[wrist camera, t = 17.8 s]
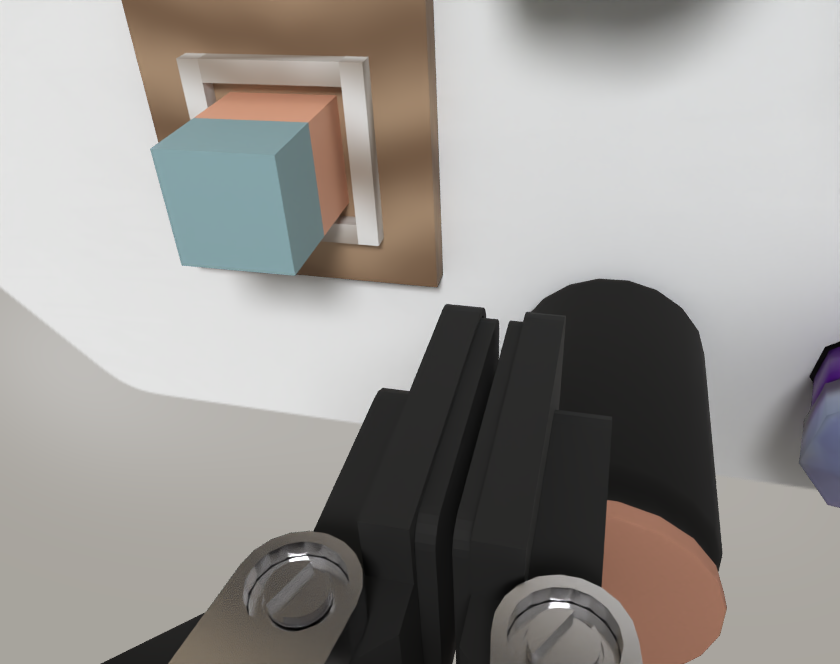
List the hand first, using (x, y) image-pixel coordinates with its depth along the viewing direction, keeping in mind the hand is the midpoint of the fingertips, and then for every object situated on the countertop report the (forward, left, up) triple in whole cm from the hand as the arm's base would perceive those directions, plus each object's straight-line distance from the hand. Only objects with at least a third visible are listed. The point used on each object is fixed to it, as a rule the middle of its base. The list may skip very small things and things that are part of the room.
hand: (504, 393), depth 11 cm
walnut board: (+8, -16, -29) cm, 34 cm away
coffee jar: (+20, +2, -29) cm, 36 cm away
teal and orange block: (+8, -16, -28) cm, 33 cm away
